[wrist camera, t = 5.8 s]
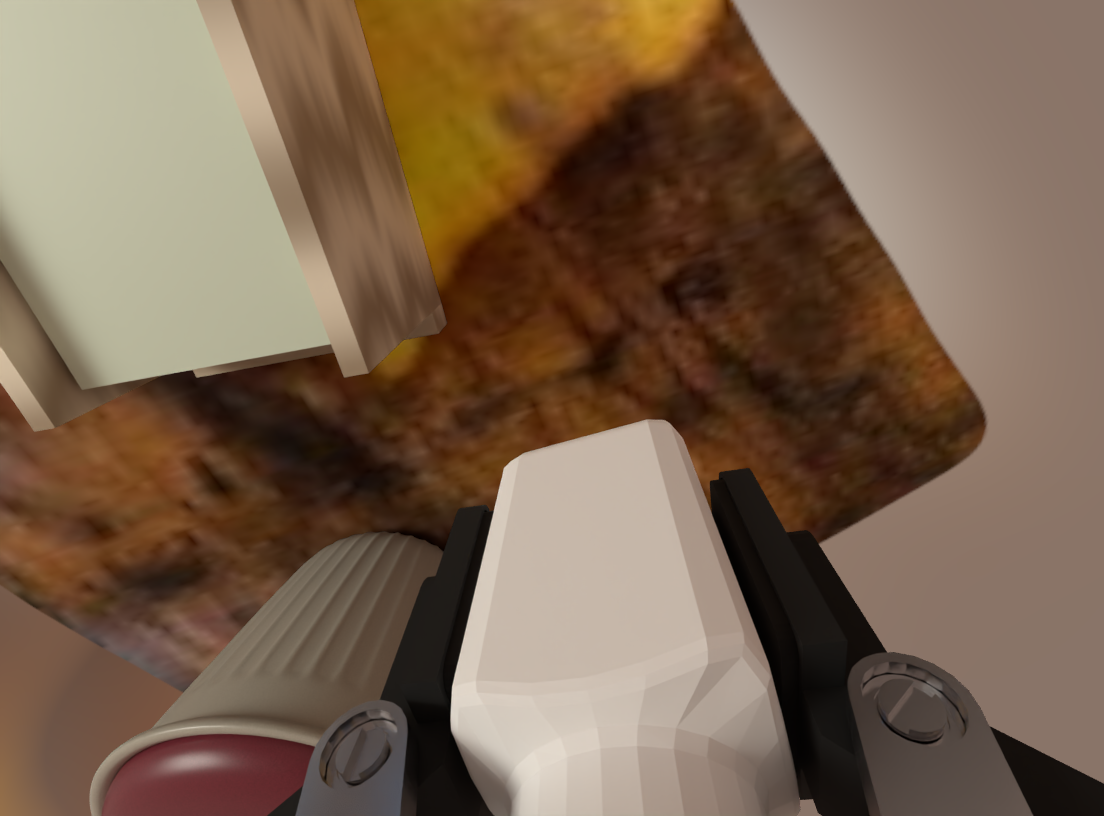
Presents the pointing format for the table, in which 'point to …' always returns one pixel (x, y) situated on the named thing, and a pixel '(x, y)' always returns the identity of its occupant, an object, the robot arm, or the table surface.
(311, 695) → the canister
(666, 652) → the pepper shaker
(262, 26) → the stand
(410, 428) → the table surface
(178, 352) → the trapdoor
